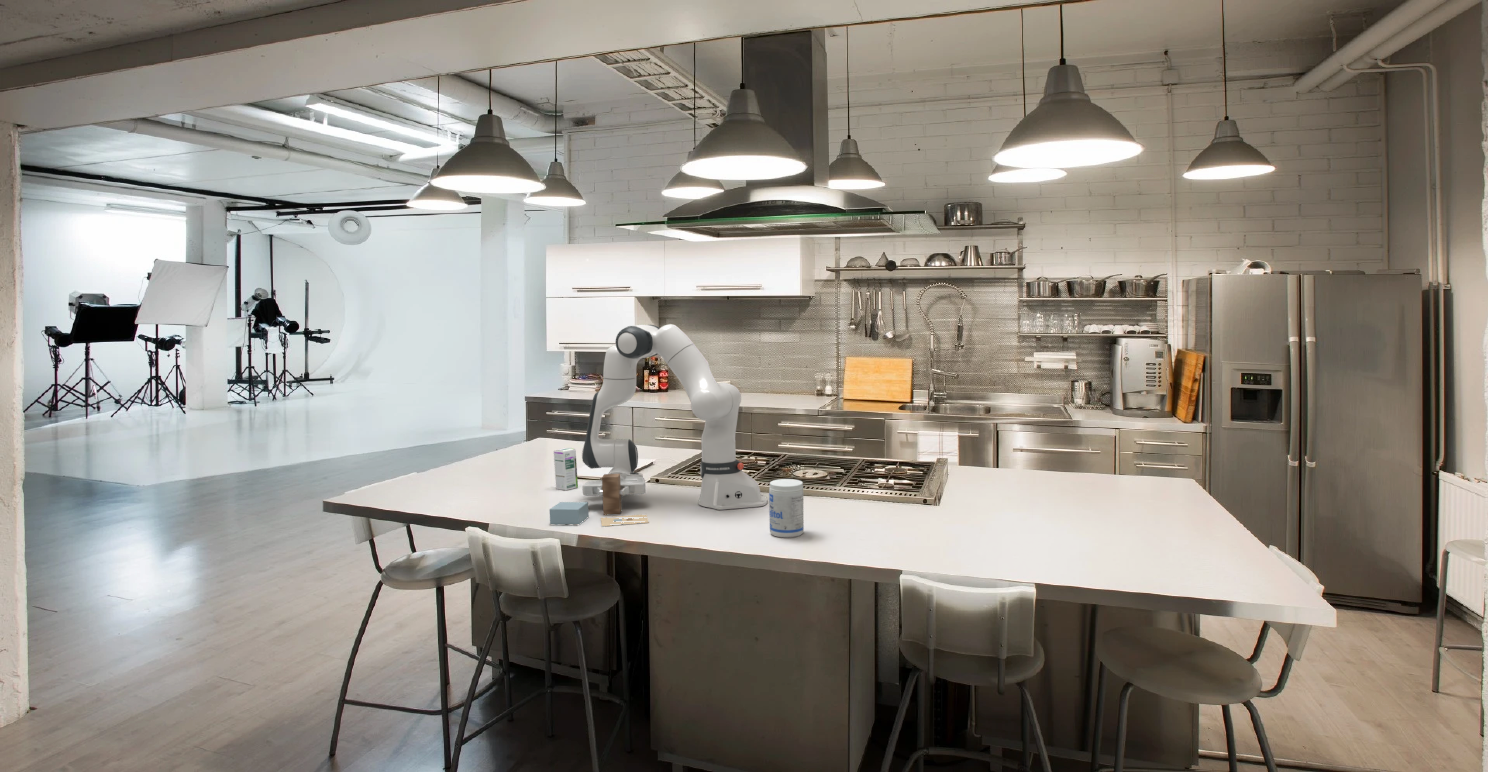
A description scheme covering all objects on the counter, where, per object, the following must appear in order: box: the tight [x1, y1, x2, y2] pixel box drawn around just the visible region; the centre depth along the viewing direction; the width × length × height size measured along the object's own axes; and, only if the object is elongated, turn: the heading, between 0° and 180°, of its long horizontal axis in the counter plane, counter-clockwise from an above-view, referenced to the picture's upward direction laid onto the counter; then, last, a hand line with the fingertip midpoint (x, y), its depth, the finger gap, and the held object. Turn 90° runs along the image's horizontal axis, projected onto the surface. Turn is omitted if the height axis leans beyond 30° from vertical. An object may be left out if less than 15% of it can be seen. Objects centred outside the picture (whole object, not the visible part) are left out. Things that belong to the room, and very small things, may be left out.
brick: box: [549, 501, 590, 525], centre depth 244 cm, size 9×9×5 cm
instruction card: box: [600, 514, 650, 527], centre depth 243 cm, size 14×10×1 cm
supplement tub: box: [768, 478, 805, 539], centre depth 223 cm, size 10×10×15 cm
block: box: [601, 473, 623, 516], centre depth 252 cm, size 5×5×12 cm
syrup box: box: [553, 447, 579, 491], centre depth 289 cm, size 6×6×14 cm
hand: (611, 493), depth 251 cm, fingers closed on block, 5 cm apart
